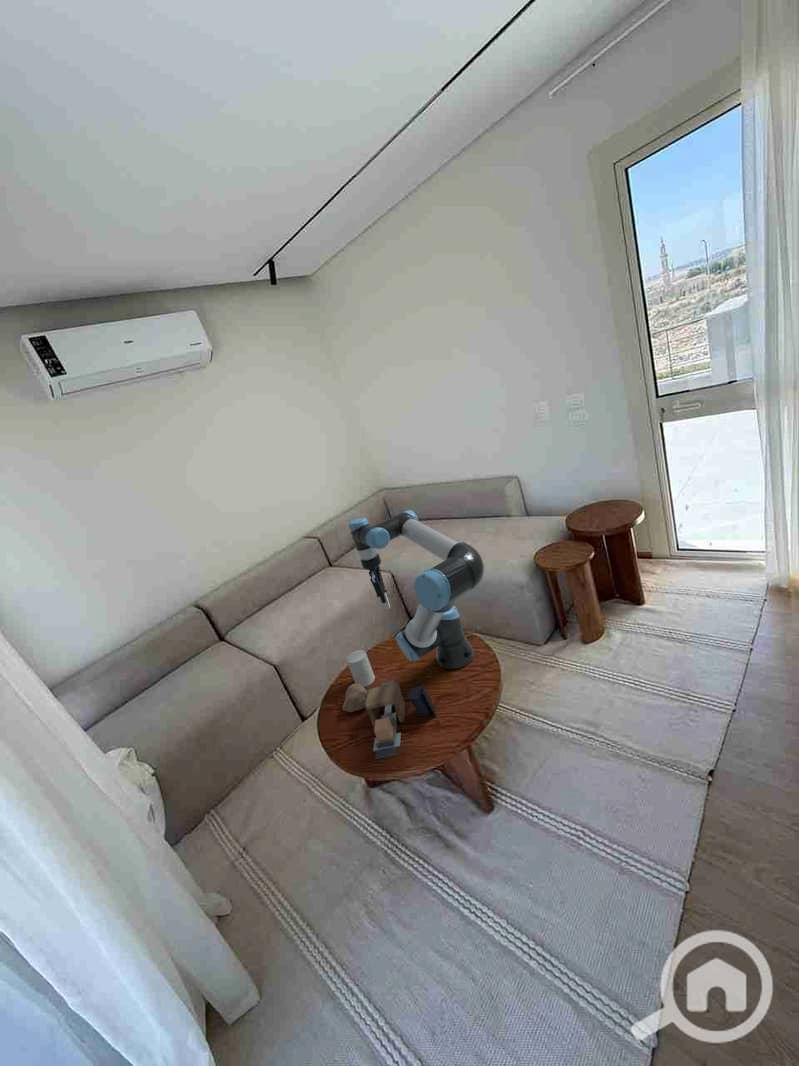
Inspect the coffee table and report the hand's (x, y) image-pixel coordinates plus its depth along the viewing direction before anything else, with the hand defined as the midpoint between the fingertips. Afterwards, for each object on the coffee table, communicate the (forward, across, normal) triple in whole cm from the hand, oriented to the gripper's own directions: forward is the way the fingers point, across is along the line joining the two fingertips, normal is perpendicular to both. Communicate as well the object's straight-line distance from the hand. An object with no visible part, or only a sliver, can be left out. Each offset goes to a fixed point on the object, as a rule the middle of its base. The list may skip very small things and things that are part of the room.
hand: (386, 608), depth 178 cm
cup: (+25, +10, -16) cm, 31 cm away
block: (+23, +44, -4) cm, 50 cm away
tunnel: (+24, +33, -4) cm, 41 cm away
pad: (+24, +45, -4) cm, 52 cm away
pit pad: (+24, +50, -4) cm, 56 cm away
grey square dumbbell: (+24, +34, -4) cm, 42 cm away
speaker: (+25, +35, +9) cm, 44 cm away
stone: (+25, +24, -18) cm, 38 cm away
